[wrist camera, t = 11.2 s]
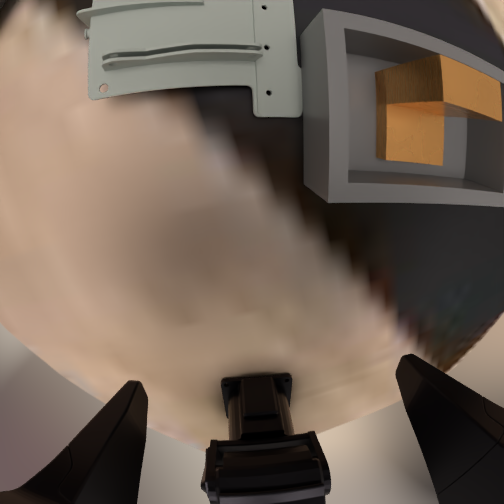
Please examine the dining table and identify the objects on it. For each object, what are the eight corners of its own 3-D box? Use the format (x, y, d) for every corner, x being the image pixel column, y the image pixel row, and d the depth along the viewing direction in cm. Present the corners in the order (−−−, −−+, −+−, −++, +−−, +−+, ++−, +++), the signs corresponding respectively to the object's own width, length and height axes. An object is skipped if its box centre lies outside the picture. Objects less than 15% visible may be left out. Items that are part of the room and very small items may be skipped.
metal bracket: (67, 139, 11) (91, -76, 5) (89, 138, 16) (98, -36, 10) (332, 117, 15) (312, -67, 9) (287, 119, 20) (277, -36, 14)
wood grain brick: (431, 162, 18) (498, 184, 11) (375, 157, 17) (441, 176, 11) (431, 85, 15) (499, 81, 9) (374, 72, 15) (440, 54, 8)
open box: (467, 190, 19) (507, 207, 14) (303, 184, 18) (328, 202, 14) (469, 77, 15) (511, 76, 10) (299, 36, 14) (322, 8, 10)
